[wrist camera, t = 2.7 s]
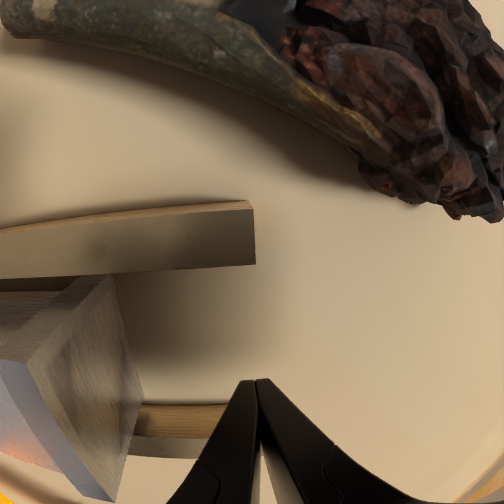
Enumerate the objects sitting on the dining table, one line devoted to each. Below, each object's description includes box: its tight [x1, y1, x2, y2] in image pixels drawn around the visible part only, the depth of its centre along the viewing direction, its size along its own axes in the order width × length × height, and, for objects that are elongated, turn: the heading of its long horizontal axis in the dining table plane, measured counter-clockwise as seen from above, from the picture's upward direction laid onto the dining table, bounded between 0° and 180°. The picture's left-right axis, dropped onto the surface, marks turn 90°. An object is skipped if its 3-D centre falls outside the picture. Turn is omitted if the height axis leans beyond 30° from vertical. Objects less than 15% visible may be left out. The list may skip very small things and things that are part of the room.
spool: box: [0, 274, 144, 503], centre depth 8 cm, size 6×10×6 cm, turn 93°
